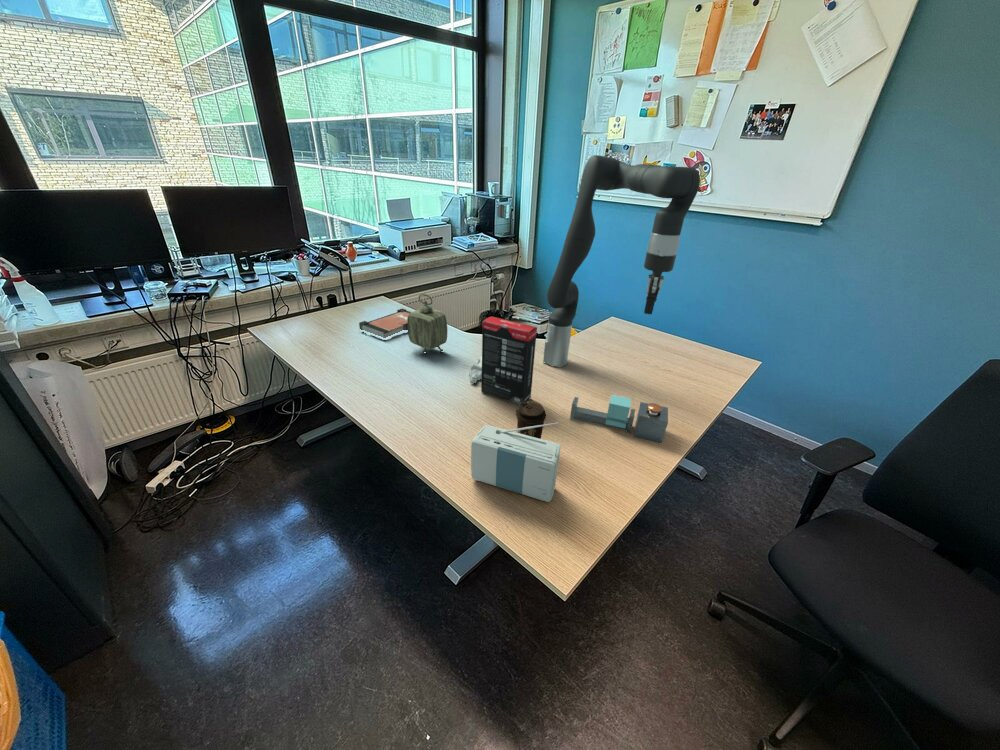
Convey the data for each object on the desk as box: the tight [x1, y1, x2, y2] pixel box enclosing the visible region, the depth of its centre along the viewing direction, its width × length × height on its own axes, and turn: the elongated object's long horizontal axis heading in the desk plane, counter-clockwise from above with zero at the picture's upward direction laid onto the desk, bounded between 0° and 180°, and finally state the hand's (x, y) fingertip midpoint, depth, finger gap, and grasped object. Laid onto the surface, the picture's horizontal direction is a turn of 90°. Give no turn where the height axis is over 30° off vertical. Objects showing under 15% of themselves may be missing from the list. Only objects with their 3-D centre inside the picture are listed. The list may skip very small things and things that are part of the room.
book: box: [358, 308, 412, 338], centre depth 187 cm, size 26×18×5 cm
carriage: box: [605, 394, 632, 428], centre depth 122 cm, size 6×5×8 cm
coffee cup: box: [515, 401, 547, 439], centre depth 111 cm, size 9×8×13 cm
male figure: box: [468, 355, 482, 385], centre depth 152 cm, size 11×10×25 cm
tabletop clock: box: [407, 293, 448, 353], centre depth 160 cm, size 14×9×25 cm, turn 58°
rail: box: [569, 396, 636, 434], centre depth 124 cm, size 19×4×6 cm, turn 70°
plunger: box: [647, 402, 663, 415], centre depth 118 cm, size 4×4×7 cm
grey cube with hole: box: [633, 401, 669, 444], centre depth 119 cm, size 8×8×8 cm
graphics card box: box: [480, 316, 538, 406], centre depth 131 cm, size 17×7×27 cm, turn 61°
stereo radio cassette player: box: [470, 421, 561, 503], centre depth 96 cm, size 21×8×20 cm, turn 69°
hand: (647, 313), depth 113 cm, fingers closed
